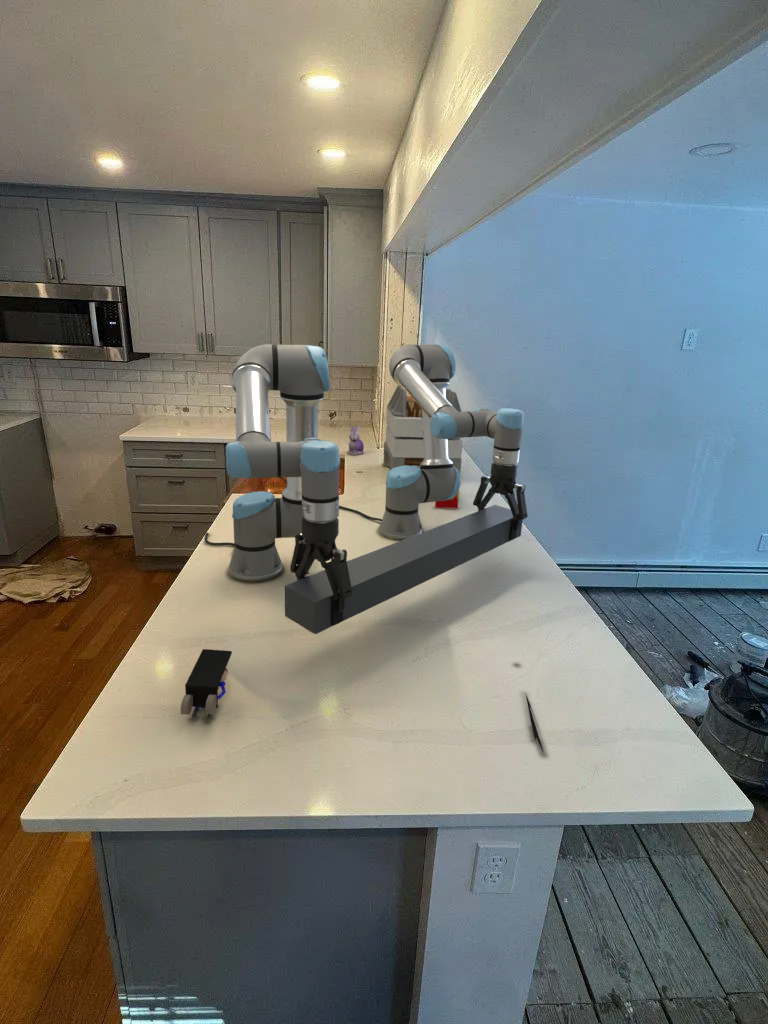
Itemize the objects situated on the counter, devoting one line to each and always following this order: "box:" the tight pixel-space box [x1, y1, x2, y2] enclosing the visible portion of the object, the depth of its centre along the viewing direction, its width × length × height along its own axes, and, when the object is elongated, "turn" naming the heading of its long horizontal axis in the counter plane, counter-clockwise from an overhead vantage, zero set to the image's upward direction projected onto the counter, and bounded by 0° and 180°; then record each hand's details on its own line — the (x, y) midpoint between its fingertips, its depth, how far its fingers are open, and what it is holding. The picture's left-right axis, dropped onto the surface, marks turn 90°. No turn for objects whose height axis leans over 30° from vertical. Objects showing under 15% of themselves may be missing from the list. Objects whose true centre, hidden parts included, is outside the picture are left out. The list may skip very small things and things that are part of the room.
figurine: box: [348, 424, 365, 456], centre depth 304 cm, size 9×10×15 cm
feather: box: [525, 691, 547, 753], centre depth 115 cm, size 2×28×2 cm
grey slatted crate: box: [383, 384, 464, 475], centre depth 268 cm, size 34×33×41 cm
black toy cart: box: [180, 648, 233, 720], centre depth 111 cm, size 7×8×15 cm
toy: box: [434, 490, 460, 509], centre depth 239 cm, size 12×13×30 cm
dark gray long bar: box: [283, 504, 524, 635], centre depth 146 cm, size 82×10×8 cm, turn 137°
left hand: (320, 613), depth 123 cm, fingers closed on dark gray long bar, 10 cm apart
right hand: (496, 534), depth 172 cm, fingers closed on dark gray long bar, 10 cm apart
